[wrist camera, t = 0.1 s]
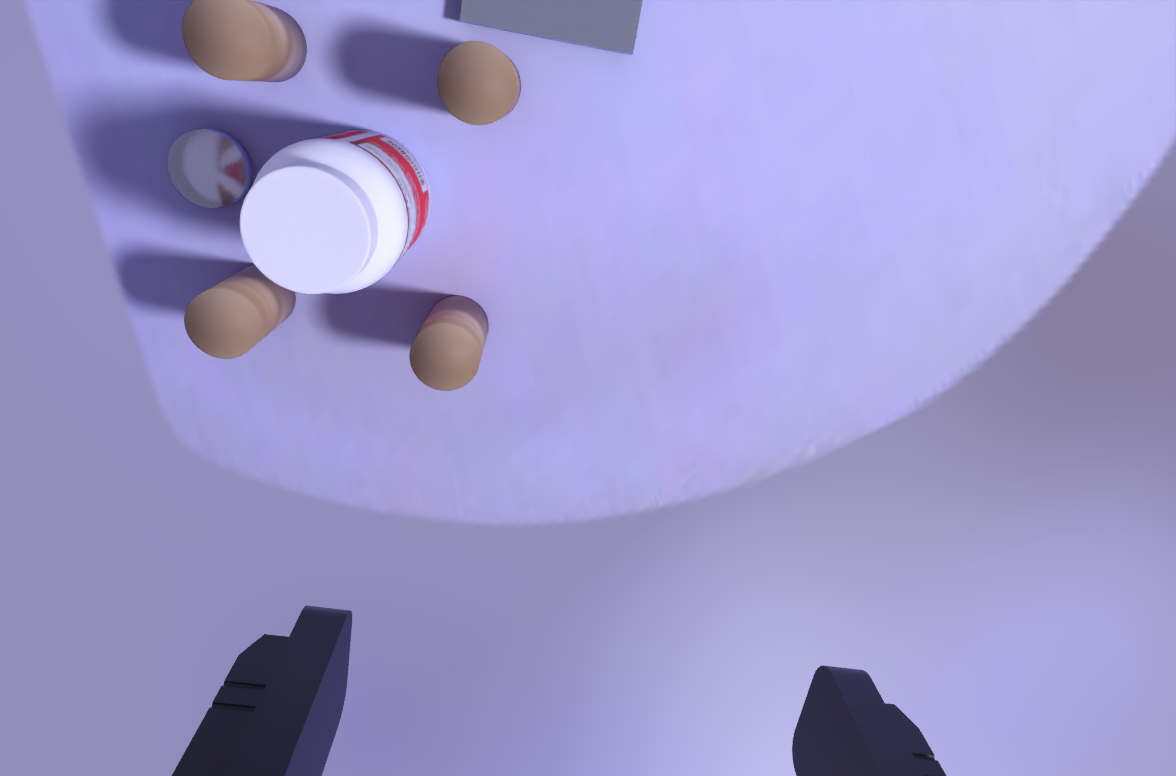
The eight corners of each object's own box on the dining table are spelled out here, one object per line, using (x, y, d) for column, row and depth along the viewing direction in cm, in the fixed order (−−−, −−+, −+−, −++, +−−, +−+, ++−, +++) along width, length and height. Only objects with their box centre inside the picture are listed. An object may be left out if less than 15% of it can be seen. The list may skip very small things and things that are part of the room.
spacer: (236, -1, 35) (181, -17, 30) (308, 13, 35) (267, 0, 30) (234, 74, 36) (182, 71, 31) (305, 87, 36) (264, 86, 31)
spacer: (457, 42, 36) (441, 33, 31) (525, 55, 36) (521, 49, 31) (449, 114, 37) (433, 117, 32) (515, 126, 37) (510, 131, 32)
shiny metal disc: (178, 122, 37) (166, 123, 36) (255, 135, 37) (246, 136, 36) (178, 198, 38) (167, 201, 37) (253, 210, 39) (244, 214, 37)
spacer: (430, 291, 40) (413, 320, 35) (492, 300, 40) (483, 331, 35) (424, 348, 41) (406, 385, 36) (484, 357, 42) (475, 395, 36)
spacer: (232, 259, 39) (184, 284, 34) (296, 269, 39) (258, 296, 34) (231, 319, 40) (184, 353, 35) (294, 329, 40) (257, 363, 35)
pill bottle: (297, 236, 39) (206, 288, 28) (318, 112, 37) (227, 120, 26) (419, 270, 40) (373, 332, 29) (446, 150, 38) (407, 172, 27)
